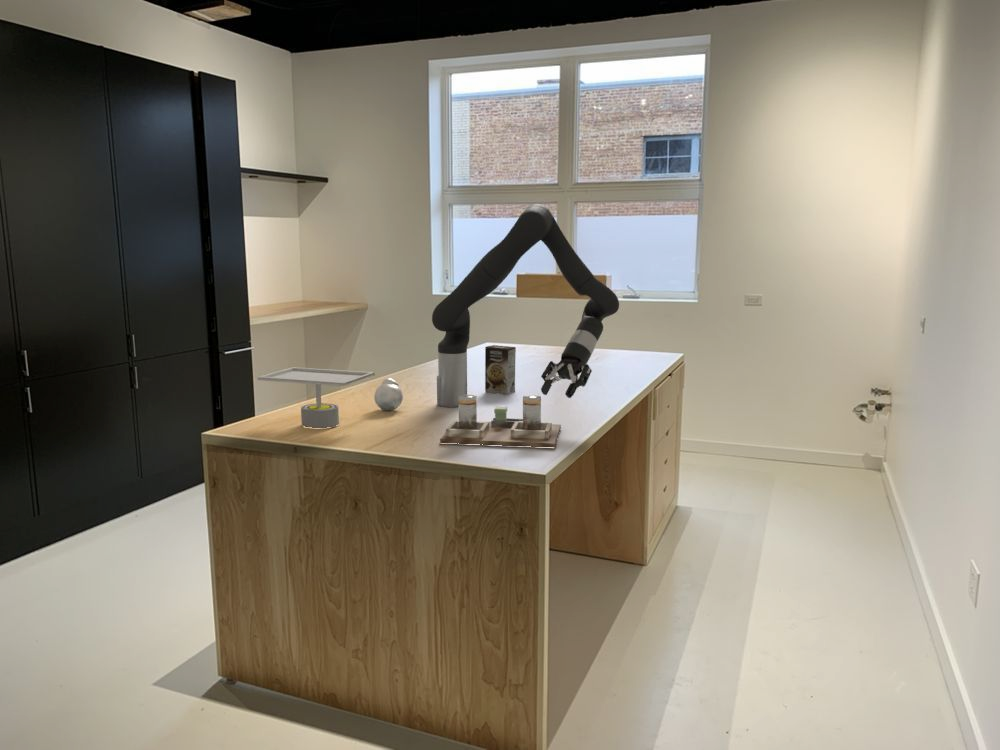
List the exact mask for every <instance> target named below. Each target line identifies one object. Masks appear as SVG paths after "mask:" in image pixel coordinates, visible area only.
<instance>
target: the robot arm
mask: <svg viewBox="0 0 1000 750" xmlns="http://www.w3.org/2000/svg"><path fill="white" fill-rule="evenodd" d="M540 241H541V242H542V243H544V245H545V246H546V247H547V249H548V250H549V252H550V253H551V255H552V256H553V259H554V260H555V263H556V265H557V266H558V269H559V271H560V272H561V275H562V276H563V277H564V279H565V280H566V281H567V283H568V284H569V285H570V286H571V288H572V289H573V291H575V293H576V294H578V295H579V296H586V297H589V298H590V299H589V300H588V301H587V302H586V304H585V306H584V308H583V311H582V314H581V315H582V316H581V320H580V322H579V324H578V326H577V328H576V330H575V331H574V332H573V334H572V335H571V337H570V339H569V341H568V342H567V344H566V346H565V348H564V350H563V352H562V353H561V355H560V356H561V357H560V361H559V362H557V363H555V362H554V361H552V360H551V361H549V362H548V364H547V366H546V368H545V369H544V371H543V372H542V374H541V375H540V376H541V379H542V380H543V381H544V383H543V384H542V386H541V388H540V391H541V393H542V395H544V396H547V395H548V393H549V391H550V390H551V387H552V386H553V384H554V383H556V382H559V381H561V380H569V381H571V382H570V383H569V385H568V387H567V388H566V390H565V393H564V394H565V396H566V398H568V399H572V397H573V396H574V395H575V393H576V391H577V389H578V388H579V387H582V388H583V387H585V386H586V385H587V382H588V380H589V379H590V376H591V374H592V372H593V370H592V368H591V367H590V366H589V364H588V362H589V360H590V358H591V357H592V355H593V353H594V351H595V349H596V345H597V344H598V341H599V339H600V337H601V335H602V333H603V331H604V324H603V322H602V321H603V320H604V319H605V318H607V317H610V316H613V315H614V314H616V313H617V312H618V311H619V309H620V301H619V298H618V296H617V295H616V293H615V292H614V291H613V290H612V289H610V287H608V286H607V285H606V284H605V283H603V282H602V281H600V280H599V279H597V278H596V277H595V275H594V274H593V273H592V271H591V270H590V269H589V268H588V267H587V265H586V264H585V263H584V262H583V260H582V259H581V258H580V256H579V255H578V254H577V252H576V251H575V250H574V248H573V247H572V245H571V244H570V241H568V239H567V237H566V236H565V235H564V233H563V232H562V230H561V227H560V226H559V224H558V222H557V221H556V219H555V217H554V215H553V214H552V212H551V210H550V209H549V208H548V207H547V206H545V205H543V204H541V203H540V204H539V203H535V204H534V203H533V204H531V205H529V206H528V207H527V208H526V209H524V211H523V212H522V213H521V214H520V215H519V216H518V218H517V220H516V221H515V223H514V225H513V226H512V227H511V229H510V230H509V231H508V233H507V234H506V235H505V236H504V238H503V239H502V240H501V241H500V242H499V243H498V244H496V245H495V246H493V248H491V249H490V250H489V251H488V252H487V253H486V254H484V255H483V257H482V258H481V259H480V260H479V261H478V263H476V264H475V266H474V267H473V268H472V270H471V271H469V273H468V274H467V275H466V276H465V278H464V279H463V280H461V282H460V283H459V284H458V285H457V286H456V287H455V289H454V290H453V291H451V292H450V293H449V294H448V295H447V296H446V297H445V298H444V299H442V301H441V302H439V303H438V304H437V305H436V307H435V308H434V309H433V312H432V315H431V321H432V322H431V323H432V325H433V327H434V328H435V329H436V330H438V331H440V332H445V335H444V337H443V339H442V340H440V341H439V342H438V345H437V361H438V362H437V364H438V365H437V366H438V367H437V368H438V369H437V370H438V371H437V372H438V375H437V376H436V404H437V405H436V406H438V405H441V406H440V407H444V406H445V408H459V396H460V395H468V353H467V352H468V351H467V350H468V345H469V342H470V335H471V334H470V331H471V330H470V329H471V315H470V311H469V308H470V307H471V306H472V305H474V304H476V303H477V302H479V301H480V300H481V299H484V298H486V296H489V294H491V293H492V292H493V291H495V290H496V289H497V288H498V287H499V286H500V285H501V284H502V283H503V282H504V281H505V280H506V279H507V277H508V276H509V275H510V273H511V272H513V269H514V268H515V267H516V265H517V263H518V262H519V260H521V258H522V257H523V256H524V255H525V254H526V253H527V252H528V251H529V250H530V249H532V248H533V247H534V246H535V245H536V244H537V243H539V242H540Z"/></svg>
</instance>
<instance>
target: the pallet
mask: <svg viewBox="0 0 1000 750" xmlns="http://www.w3.org/2000/svg"><path fill="white" fill-rule="evenodd" d="M561 428H562V426H561V423H560V424H558V423H557V424H555V423H552V422H548V421H547V422H546V421H541V430H523V418H511V417H510V418H508V417H507V421H497V420H495V417H493V418H492V419H491V421H477V430H469V429H459V420H453V421H452V422H451V423H450V424H449V425H448V426H447V427H446V428H445V433H443V435H442V436H441V437H440V439H439V444H440V443H457V444H458V443H459V444H480V445H482V444H483V445H502V446H531V447H555V448H556V446H555V445H557V443H558V440H557V438H558V439H559V437H558V435H559V436H560V434H559V432H560V433H561V430H562V429H561ZM560 429H561V430H560ZM556 442H557V443H556Z"/></svg>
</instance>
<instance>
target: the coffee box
mask: <svg viewBox="0 0 1000 750" xmlns="http://www.w3.org/2000/svg"><path fill="white" fill-rule="evenodd" d="M516 349H517V348H516V346H508V345H496V344H493V345H487V346H485V350H484V351H485V352H484V353H485V354H484V355H485V357H484V359H485V362H484V363H485V364H484V366H485V367H484V372H485V373H484V374H485V375H484V381H485V382H484V384H485V385H484V386H485V387H484V391H485V393H487V394H488V393H490V394H497V393H499V394H498V395H505V394H508V395H510V393H511V394H513V393H516V353H517V352H516V351H517V350H516ZM512 392H513V393H512Z"/></svg>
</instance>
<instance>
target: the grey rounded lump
mask: <svg viewBox="0 0 1000 750" xmlns="http://www.w3.org/2000/svg"><path fill="white" fill-rule="evenodd" d="M403 396H404V394H403V391H402V389H401V388H400V386H399V382H397V381H396V380H395V379H392V378H391V377H387V378H385V379H383V380H382V382H381V384H380V385H379V386H377V388H376V389H375V392H374V396H373V398H374V403H375V405H376V406H377V407H378V408H380V410H382V411H388V412H391V411H394V410H396V409H398V408H399V407H400V406H401V404H402V402H403V399H404V397H403Z"/></svg>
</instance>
